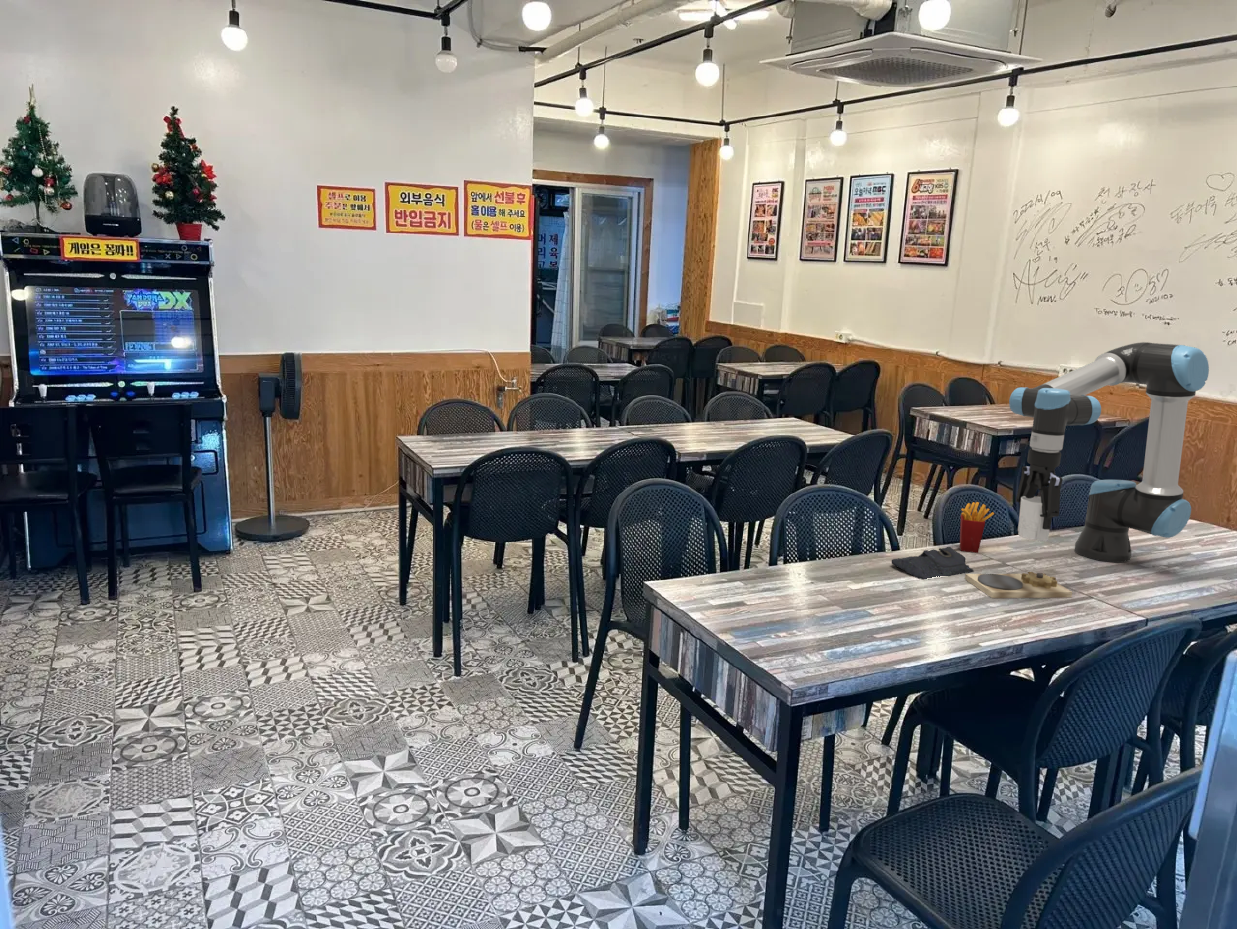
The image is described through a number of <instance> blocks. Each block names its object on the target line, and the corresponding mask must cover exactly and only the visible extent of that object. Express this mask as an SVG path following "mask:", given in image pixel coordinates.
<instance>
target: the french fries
mask: <svg viewBox="0 0 1237 929" xmlns="http://www.w3.org/2000/svg"><path fill="white" fill-rule="evenodd" d="M979 505H980V502H978V501H976V502H975V501H974V502H973V501H972V503H970V502H969V503H967V504H966V505H965V508H963V507H962V508H961V509H960V510H961V511H962V512H961V515H960V526H959V527H960V528H959V530H960V531H959V549H960V551H961V552H964V553H965V552H966V553H972V554H973V553H975V554H979V550H980V546H981V542H982V538H983V533H984V529H985V525H986V520H988V519H989V518H991V517H993V515H995V513H994V512H993V511H992V512H991V513H989V512H990V508H986V507H987V505H986V504H984V503H982V505H981V506H980V507H979ZM978 507H979V510H978ZM988 513H989V514H988ZM987 514H988V515H987Z"/></svg>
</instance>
